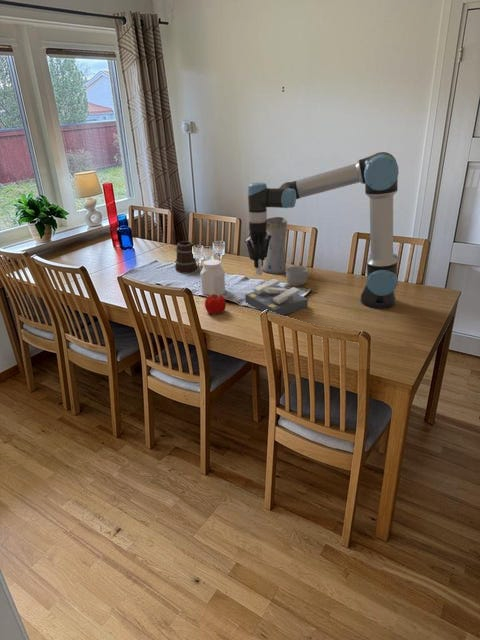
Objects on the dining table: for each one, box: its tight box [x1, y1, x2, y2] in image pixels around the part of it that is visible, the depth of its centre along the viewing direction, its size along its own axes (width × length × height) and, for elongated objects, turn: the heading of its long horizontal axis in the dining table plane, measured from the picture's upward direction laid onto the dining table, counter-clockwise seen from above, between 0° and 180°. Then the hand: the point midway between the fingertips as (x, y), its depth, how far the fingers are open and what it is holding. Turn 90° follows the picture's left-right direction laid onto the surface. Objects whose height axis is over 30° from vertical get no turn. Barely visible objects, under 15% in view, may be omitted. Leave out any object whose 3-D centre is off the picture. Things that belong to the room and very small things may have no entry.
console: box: [244, 281, 309, 316], centre depth 197 cm, size 21×19×8 cm
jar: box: [200, 259, 226, 296], centre depth 211 cm, size 12×10×15 cm
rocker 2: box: [263, 287, 288, 293], centre depth 196 cm, size 4×12×2 cm, turn 125°
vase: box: [262, 216, 288, 275], centre depth 234 cm, size 13×14×28 cm
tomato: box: [204, 294, 227, 315], centre depth 192 cm, size 9×9×8 cm
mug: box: [174, 240, 198, 273], centre depth 243 cm, size 16×12×15 cm
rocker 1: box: [253, 278, 280, 293], centre depth 201 cm, size 4×12×2 cm, turn 125°
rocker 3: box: [273, 286, 301, 304], centre depth 191 cm, size 4×12×2 cm, turn 125°
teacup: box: [285, 264, 309, 287], centre depth 221 cm, size 14×11×8 cm
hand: (258, 274), depth 196 cm, fingers closed
